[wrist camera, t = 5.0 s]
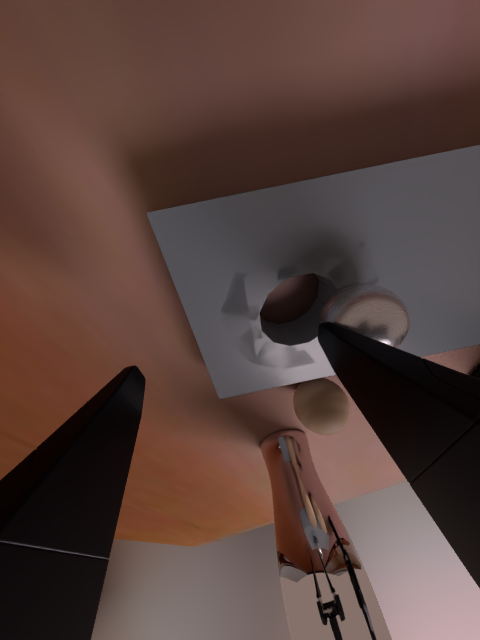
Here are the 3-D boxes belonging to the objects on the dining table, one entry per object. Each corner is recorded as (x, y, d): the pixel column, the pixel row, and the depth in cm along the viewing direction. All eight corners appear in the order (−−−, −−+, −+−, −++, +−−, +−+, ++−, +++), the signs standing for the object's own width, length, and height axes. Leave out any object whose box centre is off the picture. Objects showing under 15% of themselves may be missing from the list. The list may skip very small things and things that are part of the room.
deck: (595, 122, 9) (709, 98, 7) (470, 320, 16) (510, 337, 14) (162, 210, 9) (146, 212, 7) (218, 372, 16) (219, 399, 13)
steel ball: (347, 308, 6) (318, 273, 9) (325, 374, 8) (307, 328, 11) (456, 307, 6) (391, 271, 9) (407, 376, 8) (367, 328, 11)
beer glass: (246, 442, 23) (286, 737, 10) (297, 420, 21) (417, 731, 9) (271, 458, 26) (323, 693, 14) (316, 441, 25) (420, 684, 12)
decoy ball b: (334, 362, 17) (369, 409, 13) (329, 392, 19) (357, 439, 15) (285, 372, 17) (306, 422, 13) (286, 401, 19) (304, 450, 15)
